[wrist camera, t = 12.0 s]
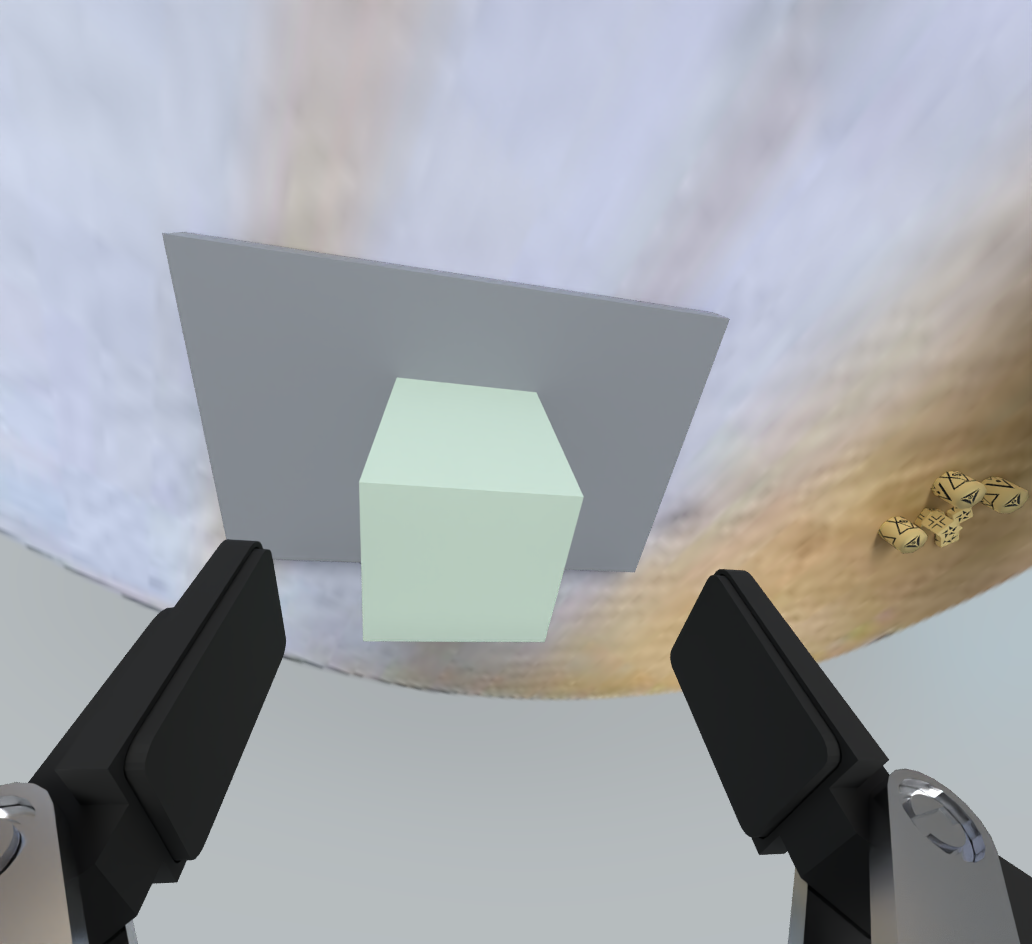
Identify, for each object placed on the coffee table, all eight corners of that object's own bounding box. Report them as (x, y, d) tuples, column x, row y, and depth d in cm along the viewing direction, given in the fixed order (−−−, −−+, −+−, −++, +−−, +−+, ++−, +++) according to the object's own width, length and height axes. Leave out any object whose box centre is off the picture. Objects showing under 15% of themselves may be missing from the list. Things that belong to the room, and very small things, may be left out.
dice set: (863, 527, 24) (892, 550, 23) (933, 449, 22) (972, 468, 21) (924, 546, 26) (956, 569, 24) (997, 474, 24) (1037, 494, 22)
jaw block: (536, 392, 16) (583, 496, 10) (516, 504, 19) (544, 642, 13) (396, 377, 15) (358, 481, 9) (394, 497, 18) (362, 641, 12)
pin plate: (712, 312, 17) (783, 339, 13) (626, 555, 23) (659, 620, 19) (184, 231, 14) (86, 239, 10) (242, 539, 19) (193, 614, 16)
